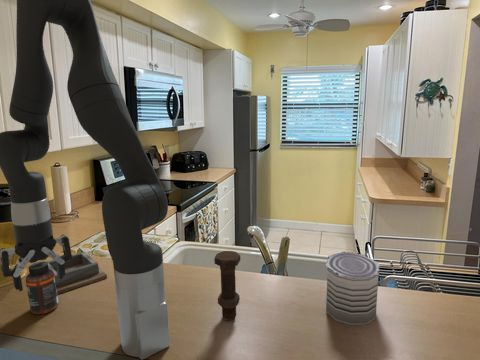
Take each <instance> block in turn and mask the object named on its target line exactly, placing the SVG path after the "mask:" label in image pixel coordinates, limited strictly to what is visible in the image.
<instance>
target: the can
mask: <svg viewBox="0 0 480 360" xmlns="http://www.w3.org/2000/svg"><path fill="white" fill-rule="evenodd" d="M325 266H326V267H327V270H326V273H327V274H326V276H327V277H326V300H325V302H326V303H325V306H326V307H325V313H326V314H328V316H330V317H331V318H332V319H333V320H334V321H336V322H339V323H342V324H346V325H348V326H367V325H368V324H370V323H371V322H373V321H374V320H376V317H377V305H378V303H377V302H378V287H379V275H380V263H379V262H377V261H376V260H374V259H372V258H370V257H369V256H367V255H365V254H362V253H355V252H349V251H341V252H339V253H335V254H331V255H328V257H327V260H326V264H325Z"/></svg>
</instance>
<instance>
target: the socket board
mask: <svg viewBox="0 0 480 360" xmlns="http://www.w3.org/2000/svg"><path fill="white" fill-rule="evenodd" d="M46 262H47V263H48V267H49V269H50V270H52V271H53V272H54V276H55V283H56V289H57V295H61V294H63V293H66V292H69V291H72V290H75V289H78V288H81V287H84V286H86V285H90V284H92V283H96V282H99V281H102V280H105V279H108V274H107V273H106V272H104V271H103V270H102V269H101V268H100V267H99V263H98V262H97V261H96V260H95V259H93V257H91V256H90V255H89V254H88V253H87V252H86V251H81V252H78V253H74V254H73V253H72V259H71V260H67V261H66V262H65V263H64V267H65V276H63V279H59V278H58V275H57V268H56V263H57V262H56V261H55V260H53V259H51V260H48V261H46Z"/></svg>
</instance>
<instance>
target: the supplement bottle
mask: <svg viewBox="0 0 480 360" xmlns="http://www.w3.org/2000/svg"><path fill="white" fill-rule="evenodd" d="M47 262H48V261H45V260H42V261H36V262H34V263H31V264H30V265H29V266H28V272H29V273H28V274H27V275H26V276H25V285H26V290H27V297H28V298H27V299H28V303H29V308H30V312H31V313H32V314H33V315H45V314H49V313H51V312H52V311H54V310H55V309H57V308H58V306H59V298H58V294H57V289H56V283H55V276H54V272H53V271H52V270H50V269H49V267H48V263H47Z"/></svg>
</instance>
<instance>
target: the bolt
mask: <svg viewBox="0 0 480 360" xmlns="http://www.w3.org/2000/svg"><path fill="white" fill-rule="evenodd" d="M213 261H214V265H217V266H219V271H220V287H221V290H220V291H221V292H220V293H219V294H218V297H217V304H218V305H219V306H220V307H221V314H222V318H223V319H224V320H225V321H233V320H235V319H236V318H237V306H238V305H239V303H240V294H239V293H237V292H236V287H237V286H236V269H237V268H236V267H238V265H239V264H240V262H241V254H240V253H238V252H236V251H235V250H222V251H219V252H218V253H216V254H215V256H214V260H213Z"/></svg>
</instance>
